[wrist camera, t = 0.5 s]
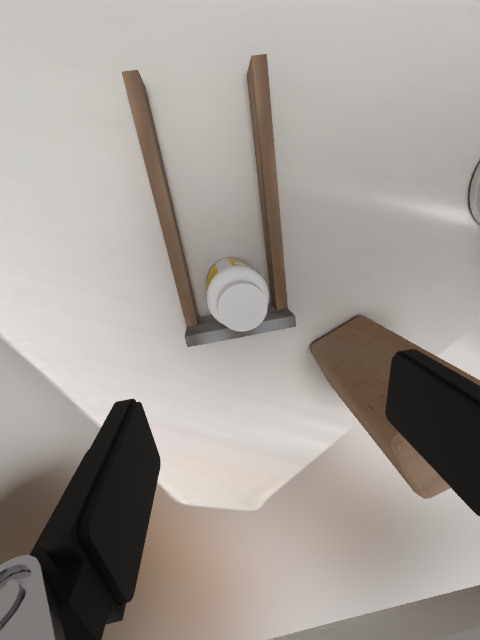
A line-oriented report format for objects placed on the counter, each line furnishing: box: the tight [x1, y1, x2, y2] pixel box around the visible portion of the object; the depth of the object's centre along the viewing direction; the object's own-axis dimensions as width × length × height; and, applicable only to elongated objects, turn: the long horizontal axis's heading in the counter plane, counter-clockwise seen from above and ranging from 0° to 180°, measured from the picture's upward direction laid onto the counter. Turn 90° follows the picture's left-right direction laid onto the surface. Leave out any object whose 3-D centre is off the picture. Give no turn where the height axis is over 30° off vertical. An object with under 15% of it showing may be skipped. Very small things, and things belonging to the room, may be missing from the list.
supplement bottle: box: [206, 258, 269, 332], centre depth 28 cm, size 7×7×13 cm
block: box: [311, 316, 480, 499], centre depth 31 cm, size 10×10×20 cm
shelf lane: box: [122, 54, 296, 347], centre depth 28 cm, size 14×28×6 cm, turn 9°
